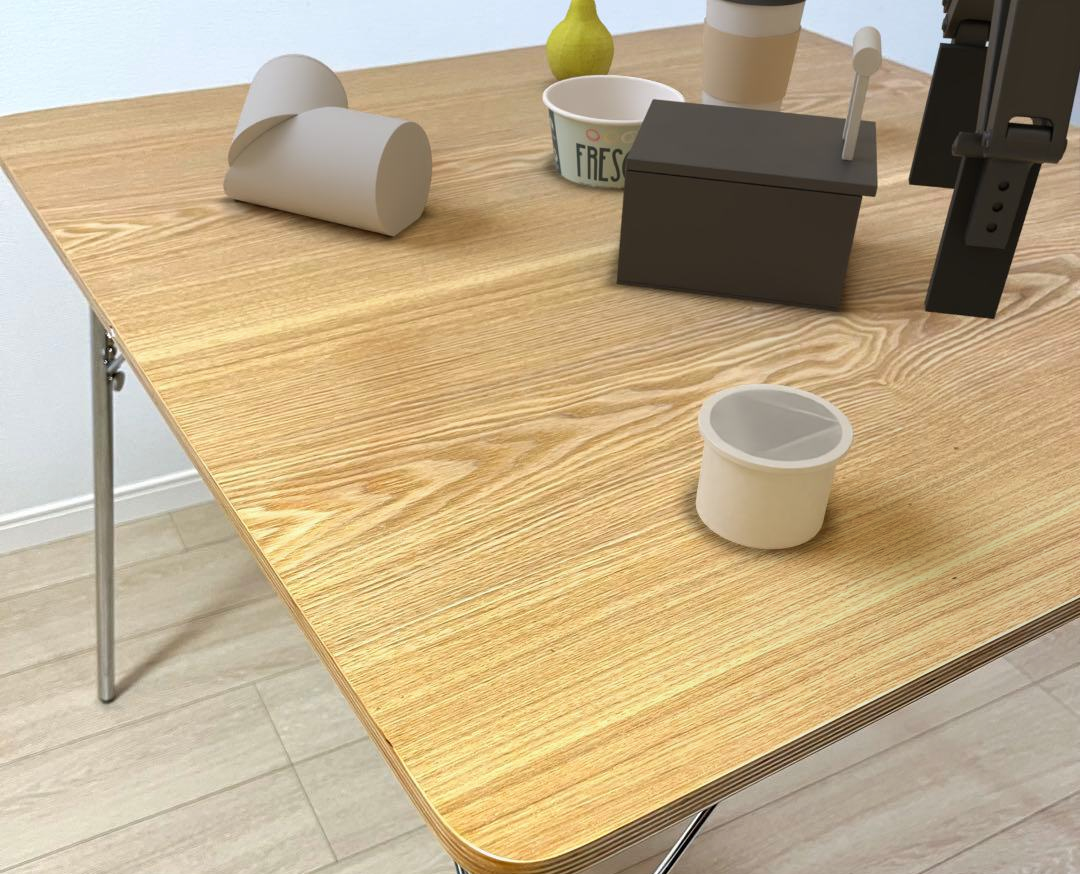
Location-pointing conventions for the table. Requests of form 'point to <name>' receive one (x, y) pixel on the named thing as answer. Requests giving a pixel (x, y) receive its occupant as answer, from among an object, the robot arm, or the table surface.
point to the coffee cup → (749, 52)
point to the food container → (599, 124)
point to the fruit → (580, 43)
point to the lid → (767, 139)
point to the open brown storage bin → (736, 239)
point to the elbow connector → (325, 152)
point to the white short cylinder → (768, 463)
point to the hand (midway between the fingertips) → (946, 242)
